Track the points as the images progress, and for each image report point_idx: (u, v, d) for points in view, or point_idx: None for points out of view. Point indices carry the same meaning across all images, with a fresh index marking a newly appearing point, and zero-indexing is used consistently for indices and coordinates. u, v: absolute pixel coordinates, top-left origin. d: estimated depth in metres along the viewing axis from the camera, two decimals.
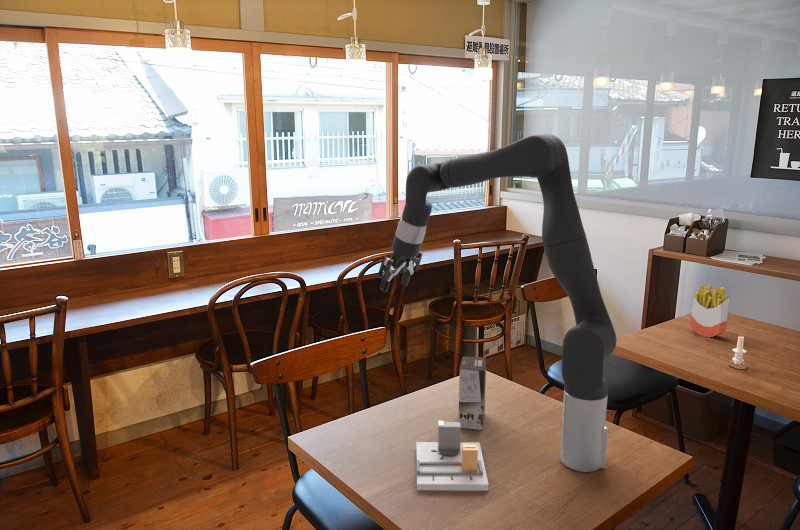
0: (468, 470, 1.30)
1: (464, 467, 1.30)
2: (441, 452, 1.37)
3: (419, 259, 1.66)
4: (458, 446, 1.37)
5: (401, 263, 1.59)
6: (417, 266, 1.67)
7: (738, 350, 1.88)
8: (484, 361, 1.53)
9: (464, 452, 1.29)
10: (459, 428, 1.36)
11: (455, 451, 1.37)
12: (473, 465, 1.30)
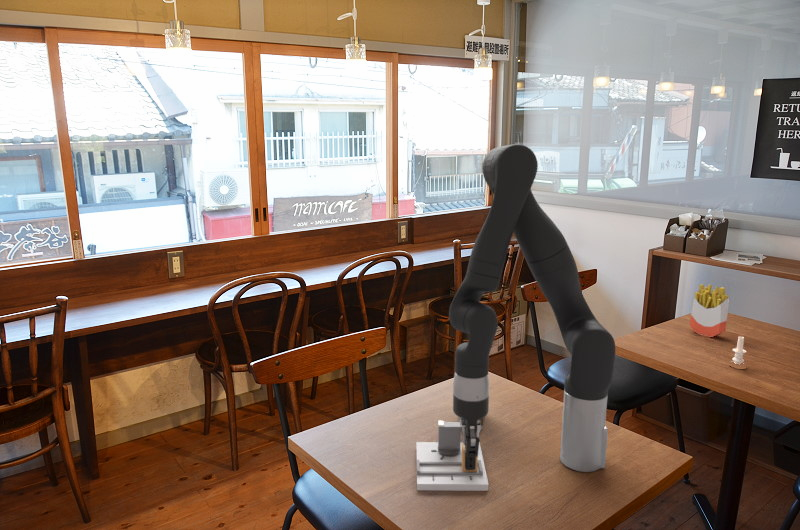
0: (468, 470, 1.30)
1: (464, 467, 1.30)
2: (441, 452, 1.37)
3: None
4: (458, 446, 1.37)
5: (478, 428, 1.27)
6: None
7: (738, 350, 1.88)
8: None
9: None
10: (459, 428, 1.36)
11: (455, 451, 1.37)
12: None
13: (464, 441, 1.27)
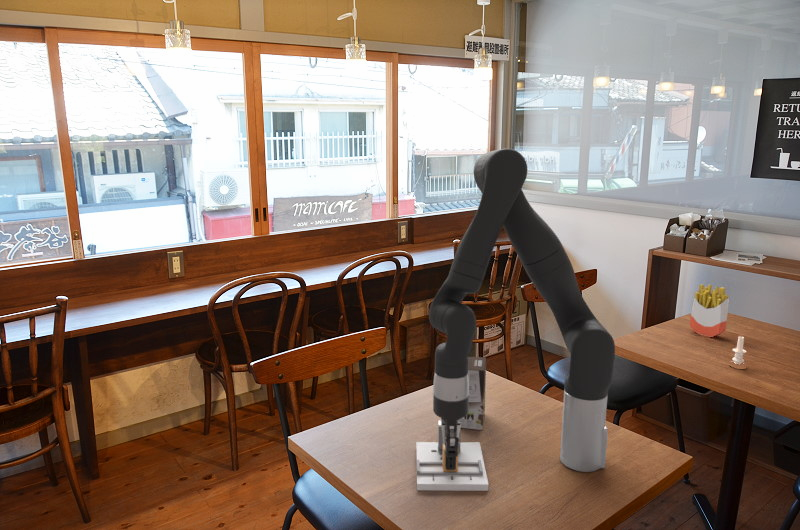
0: (449, 470, 1.30)
1: (445, 467, 1.30)
2: (441, 452, 1.37)
3: None
4: (458, 446, 1.37)
5: (458, 428, 1.27)
6: None
7: (738, 350, 1.88)
8: (484, 361, 1.53)
9: (444, 452, 1.29)
10: None
11: None
12: None
13: (444, 441, 1.28)
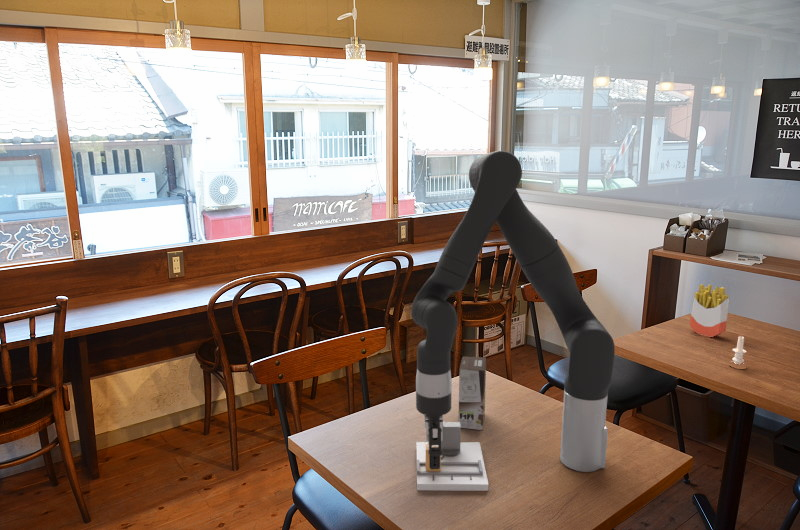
0: (431, 470, 1.30)
1: (427, 467, 1.30)
2: None
3: None
4: (458, 446, 1.37)
5: (441, 424, 1.27)
6: None
7: (738, 350, 1.88)
8: (484, 361, 1.53)
9: (427, 452, 1.29)
10: (459, 428, 1.36)
11: (455, 451, 1.37)
12: None
13: (427, 437, 1.26)
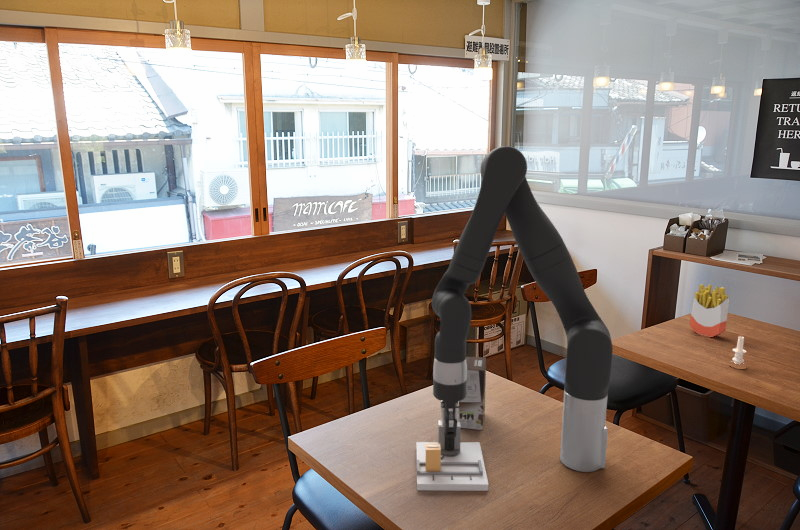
0: (431, 470, 1.30)
1: (427, 467, 1.30)
2: (441, 452, 1.37)
3: None
4: (458, 446, 1.37)
5: (456, 411, 1.34)
6: None
7: (738, 350, 1.88)
8: (484, 361, 1.53)
9: (427, 452, 1.29)
10: (459, 428, 1.36)
11: (455, 451, 1.37)
12: (437, 464, 1.30)
13: (443, 423, 1.35)
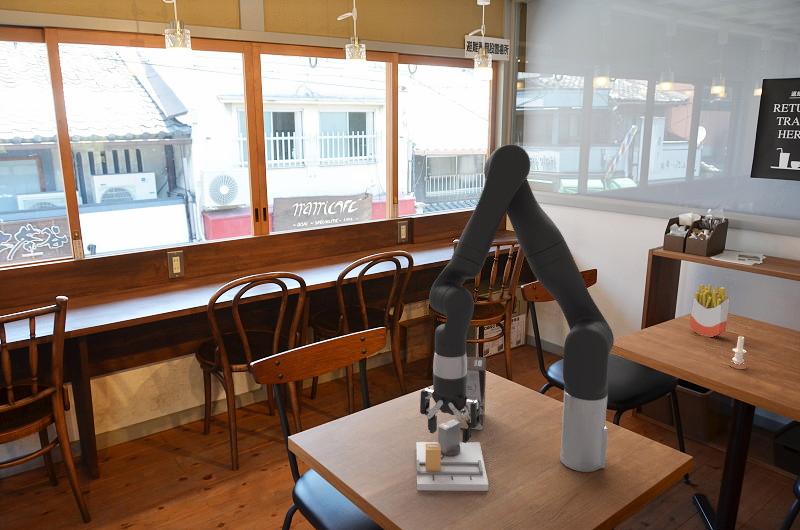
0: (431, 470, 1.30)
1: (427, 467, 1.30)
2: (449, 454, 1.36)
3: None
4: (458, 442, 1.39)
5: None
6: None
7: (738, 350, 1.88)
8: (484, 361, 1.53)
9: (427, 452, 1.29)
10: (459, 424, 1.38)
11: (459, 447, 1.38)
12: (437, 464, 1.30)
13: (461, 415, 1.33)
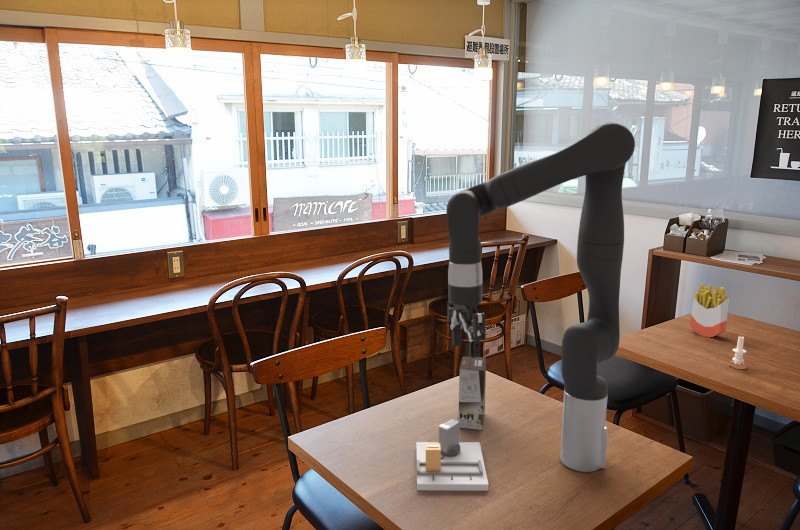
0: (431, 470, 1.30)
1: (427, 467, 1.30)
2: (451, 454, 1.36)
3: None
4: (458, 441, 1.39)
5: None
6: None
7: (738, 350, 1.88)
8: (484, 361, 1.53)
9: (427, 452, 1.29)
10: (458, 423, 1.38)
11: (459, 447, 1.39)
12: (437, 464, 1.30)
13: (467, 327, 1.31)
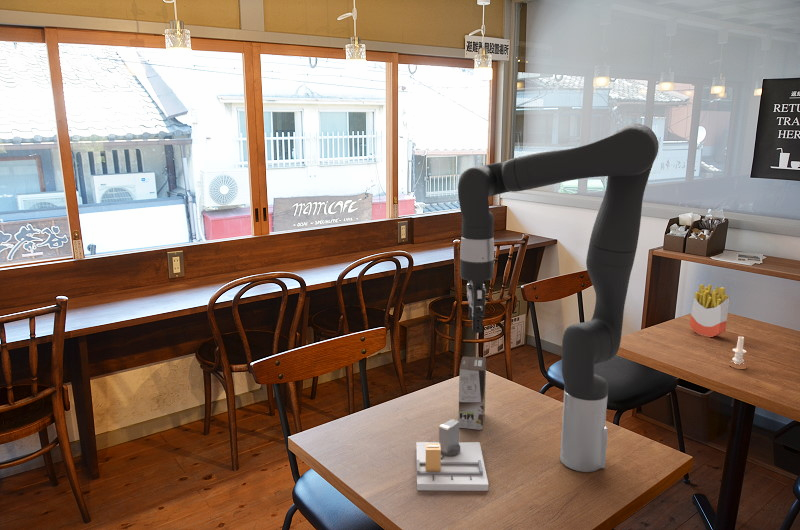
0: (431, 470, 1.30)
1: (427, 467, 1.30)
2: (451, 454, 1.36)
3: None
4: (457, 441, 1.39)
5: None
6: None
7: (738, 350, 1.88)
8: (484, 361, 1.53)
9: (427, 452, 1.29)
10: (458, 423, 1.38)
11: (459, 447, 1.39)
12: (437, 464, 1.30)
13: (471, 302, 1.32)
